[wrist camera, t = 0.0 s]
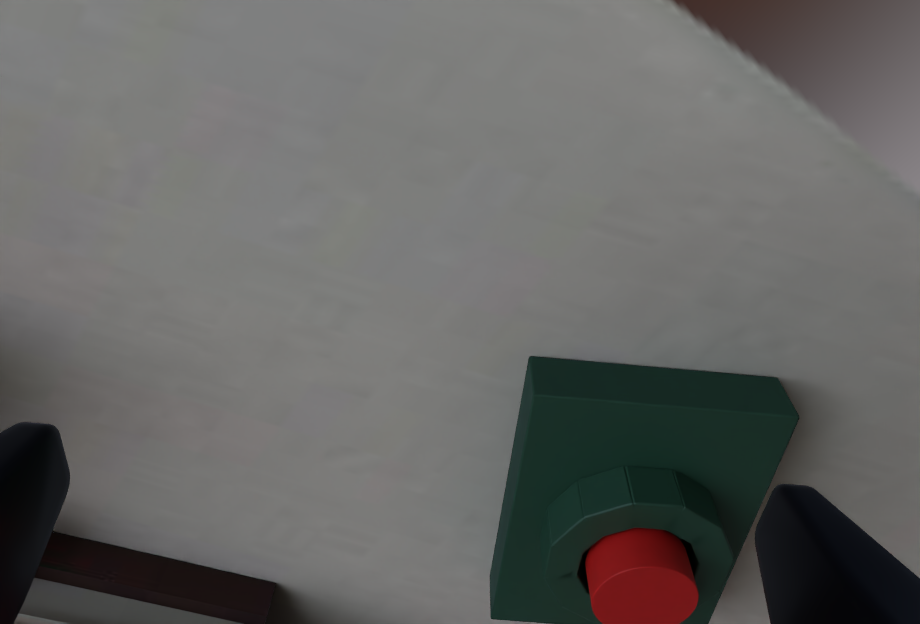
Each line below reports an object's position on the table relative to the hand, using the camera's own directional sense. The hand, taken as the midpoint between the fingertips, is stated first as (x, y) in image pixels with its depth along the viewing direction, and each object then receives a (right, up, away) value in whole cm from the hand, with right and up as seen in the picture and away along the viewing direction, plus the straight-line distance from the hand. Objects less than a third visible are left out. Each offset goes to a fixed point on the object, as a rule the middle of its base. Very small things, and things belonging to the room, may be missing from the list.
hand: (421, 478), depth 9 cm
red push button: (+7, -7, +17) cm, 20 cm away
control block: (+7, -5, +20) cm, 22 cm away
